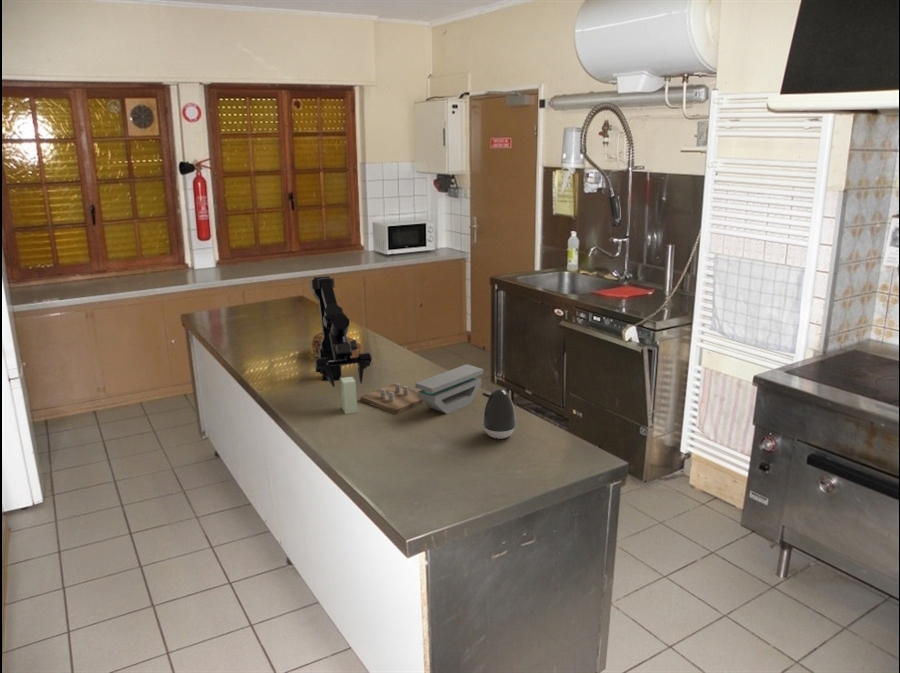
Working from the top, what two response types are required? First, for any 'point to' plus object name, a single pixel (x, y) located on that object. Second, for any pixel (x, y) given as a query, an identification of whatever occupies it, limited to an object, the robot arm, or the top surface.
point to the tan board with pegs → (393, 398)
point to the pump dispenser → (499, 414)
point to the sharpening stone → (450, 388)
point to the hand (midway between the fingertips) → (347, 384)
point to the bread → (318, 340)
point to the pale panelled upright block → (348, 395)
